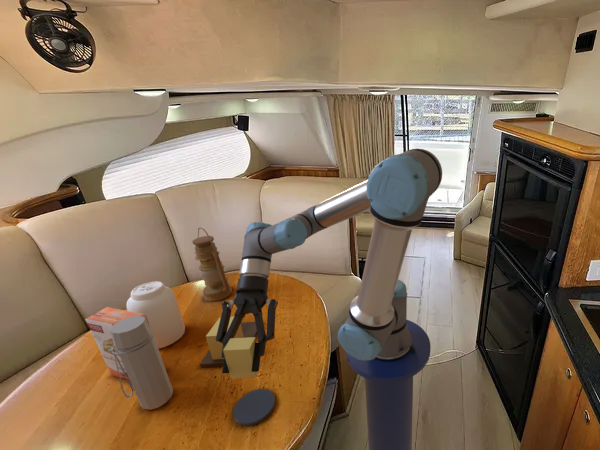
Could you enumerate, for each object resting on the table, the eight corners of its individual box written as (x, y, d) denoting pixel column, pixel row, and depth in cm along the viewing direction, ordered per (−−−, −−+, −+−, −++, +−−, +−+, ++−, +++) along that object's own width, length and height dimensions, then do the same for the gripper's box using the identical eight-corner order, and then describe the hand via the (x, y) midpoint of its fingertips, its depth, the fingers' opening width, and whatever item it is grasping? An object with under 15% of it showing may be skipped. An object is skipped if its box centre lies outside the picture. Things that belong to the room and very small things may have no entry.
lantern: (242, 290, 133) (228, 224, 122) (224, 304, 124) (207, 234, 113) (213, 285, 137) (196, 221, 126) (193, 299, 127) (173, 231, 116)
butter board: (262, 324, 113) (261, 321, 112) (241, 364, 95) (240, 361, 95) (228, 325, 112) (227, 322, 112) (200, 367, 94) (199, 364, 94)
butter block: (244, 338, 104) (239, 316, 101) (232, 358, 96) (226, 335, 93) (225, 339, 104) (219, 316, 101) (212, 359, 96) (205, 336, 92)
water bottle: (172, 382, 89) (146, 310, 80) (176, 401, 83) (148, 326, 74) (131, 401, 84) (98, 325, 74) (132, 422, 78) (96, 343, 69)
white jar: (131, 346, 103) (111, 294, 95) (168, 322, 114) (152, 274, 106) (159, 354, 99) (140, 301, 92) (194, 329, 110) (179, 280, 103)
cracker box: (109, 377, 91) (83, 318, 83) (131, 361, 96) (107, 305, 89) (147, 387, 88) (123, 327, 80) (167, 370, 93) (146, 312, 86)
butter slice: (261, 364, 80) (255, 337, 77) (255, 377, 77) (249, 349, 73) (237, 365, 80) (230, 338, 76) (230, 378, 76) (223, 350, 73)
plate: (281, 393, 86) (281, 390, 86) (263, 428, 77) (262, 425, 76) (247, 390, 87) (246, 387, 86) (225, 424, 78) (224, 421, 77)
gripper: (293, 280, 88) (285, 369, 79) (224, 282, 87) (207, 373, 78) (285, 273, 81) (276, 370, 72) (210, 275, 80) (190, 375, 71)
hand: (240, 372), depth 75 cm, fingers closed on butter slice, 6 cm apart
